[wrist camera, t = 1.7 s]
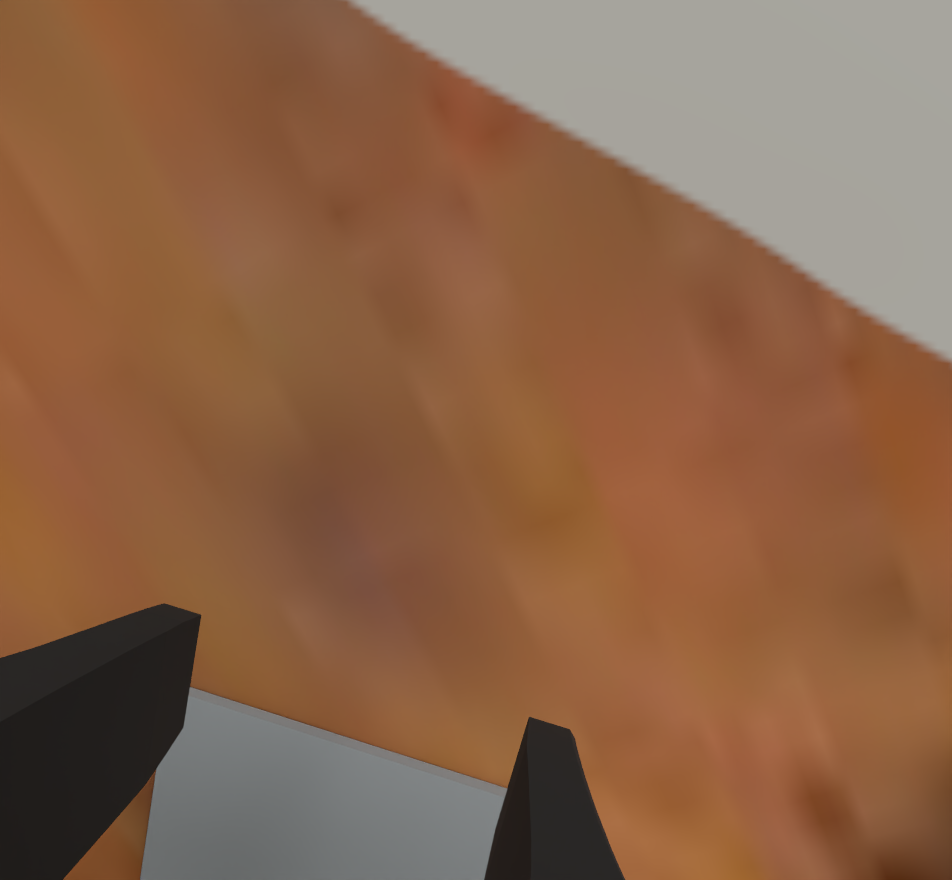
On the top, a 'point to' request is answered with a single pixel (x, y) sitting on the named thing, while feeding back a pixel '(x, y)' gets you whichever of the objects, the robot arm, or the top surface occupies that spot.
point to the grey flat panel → (307, 805)
